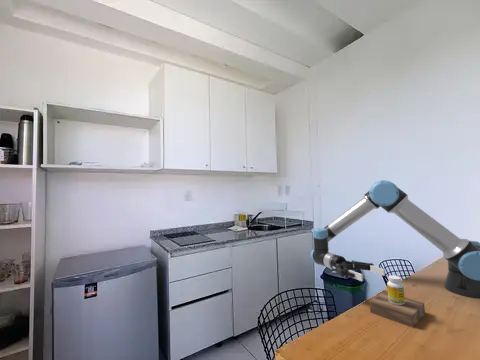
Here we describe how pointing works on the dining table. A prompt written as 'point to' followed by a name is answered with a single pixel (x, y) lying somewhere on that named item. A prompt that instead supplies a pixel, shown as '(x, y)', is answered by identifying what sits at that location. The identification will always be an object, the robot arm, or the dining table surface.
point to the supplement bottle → (395, 290)
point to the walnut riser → (398, 310)
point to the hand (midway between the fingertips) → (373, 275)
